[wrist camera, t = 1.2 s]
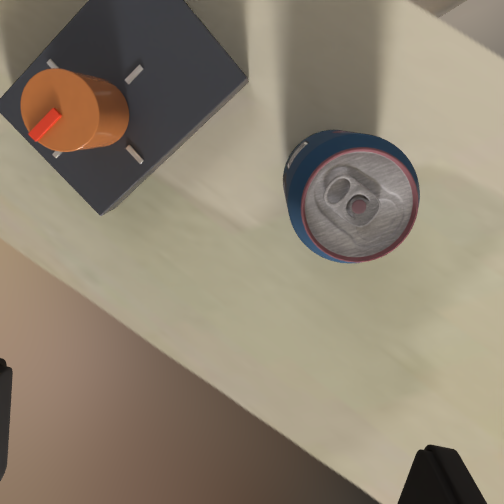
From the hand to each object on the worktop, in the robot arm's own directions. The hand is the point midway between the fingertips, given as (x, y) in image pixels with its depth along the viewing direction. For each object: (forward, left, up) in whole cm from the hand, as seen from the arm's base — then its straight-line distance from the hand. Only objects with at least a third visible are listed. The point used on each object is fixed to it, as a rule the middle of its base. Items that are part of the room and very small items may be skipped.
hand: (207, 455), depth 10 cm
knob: (+3, -13, -22) cm, 26 cm away
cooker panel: (+1, -13, -26) cm, 28 cm away
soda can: (-6, +1, -26) cm, 26 cm away
